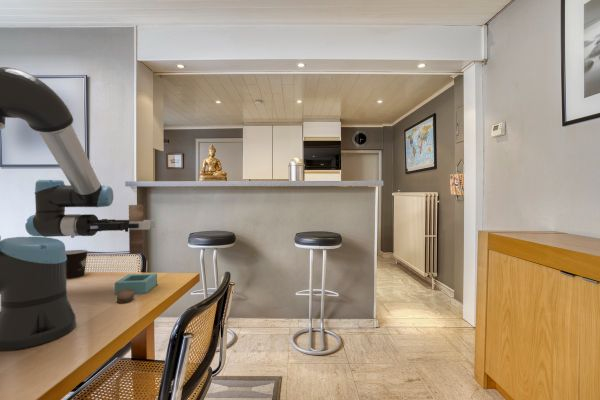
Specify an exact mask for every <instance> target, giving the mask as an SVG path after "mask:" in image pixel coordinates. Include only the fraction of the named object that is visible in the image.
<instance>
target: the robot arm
mask: <svg viewBox="0 0 600 400" xmlns="http://www.w3.org/2000/svg"><path fill="white" fill-rule="evenodd" d="M6 118H8V119H9V118H10V119H11V118H12V119H21V120H23V121H25V122H27V124H28V126H29V128H30V129H31V130H33V131H34V132H36V133H39V136H40V137H41V138H42V141H44V143H45V145H46V147H47V148H48V150H49V151H50V153H51V154H52V156H53V158H54V160H55V161H56V163H57V164H58V166H59V168H60V169H61V171H62V172H63V174H64V176H65V178H66V179H67V181H68V183H69V184H70V185H69V184H67V185H66V184H65V181H63V180H61V179H38V180H36V181H35V187H34V188H35V189H34V190H35V191H34V199H35V200H34V201H35V213H34V214H32V215H30V216H29V217H28V218H27V219H26V223H25V230H26V232H27V234H28V235H30V236H15V237H7V238H3V239H1V238H2V237H1V235H0V351H14V350H16V351H17V350H21V349H27V348H32V347H34V346H38V345H39V346H40V345H43V344H46V343H48V342H51V341H54V340H56V339H59V338H61V337H63V336H65V335H67V334H68V333H70V332H71V331H73V330H74V329H75V328H76V327H77V317H76V314H75V312H74V310H73V307H72V305H71V303H70V301H69V299H68V295H67V294H68V293H67V278H66V260H67V256H66V251H67V250H66V245H65V243H64V242H63V241H62V240H60V239H57V238H53V237H70V238H72V239H74V238H75V237H80V236H81V237H92V236H95V235H96V234H97V233H98V232H107V231H110V232H111V231H114V232H116V231H124V232H125V233H129V230H148V231H149V230H150V229H152V228H157V227H156V226H157V225H156V223H157V222H156V221H157V220H156V219H144V222H129V219H116V218H115V219H114V218H113V219H108V218H102V219H99V218H98V216H97V215H95V214H91V213H90V214H80V213H79V214H77V213H76V214H75V213H74V214H65V212H66V208H102V207H103V208H105V207H110V206H112V204H113V201H114V190H113V188H112V187H110V185H103V184H101V182H100V180H99V178H98V176H97V174H96V172H95V171H94V168H93V166H92V163H91V161H90V160H89V158H88V156H87V154H86V151H85V149H84V148H83V146H82V143H81V141H80V139H79V138H78V135H77V133H76V131H75V129H74V128H73V123H74V117H73V115H72V113H71V112H70V109H69V107H68V105H66V103H65V102H64V100H63V99H62V98H61V97H60V96H59V95H58V94H57V93H56V92H55V90H54V89H53V88H51V87H49V85H47V84H46V83H45V82H43V81H42V80H40V79H39V78H37V77H36V76H34V75H32V74H30V73H28V72H26V71H23V70H21V69H17V68H15V67H14V68H13V67H9V66H8V67H7V66H2V67H1V66H0V131H1V130H3V129H5V128H6Z"/></svg>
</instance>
